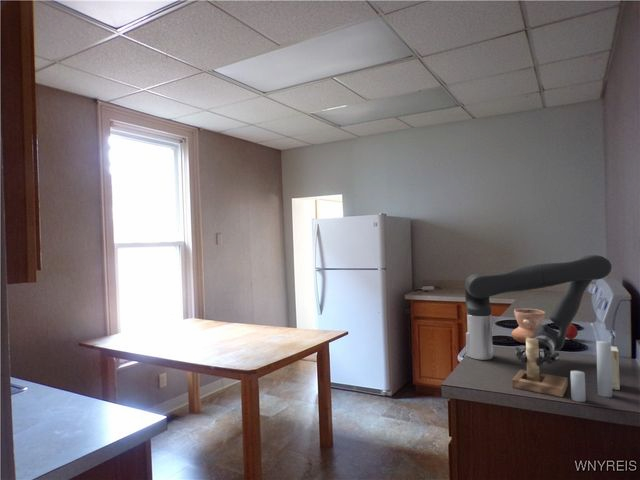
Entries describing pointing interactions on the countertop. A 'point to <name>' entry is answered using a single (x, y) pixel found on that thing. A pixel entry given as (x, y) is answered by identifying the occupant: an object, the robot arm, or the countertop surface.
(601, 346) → the tall grey dowel
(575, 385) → the short grey dowel
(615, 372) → the skincare box
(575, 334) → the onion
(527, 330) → the ceramic jug
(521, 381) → the wooden board with hole
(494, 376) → the countertop surface
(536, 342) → the beech dowel
